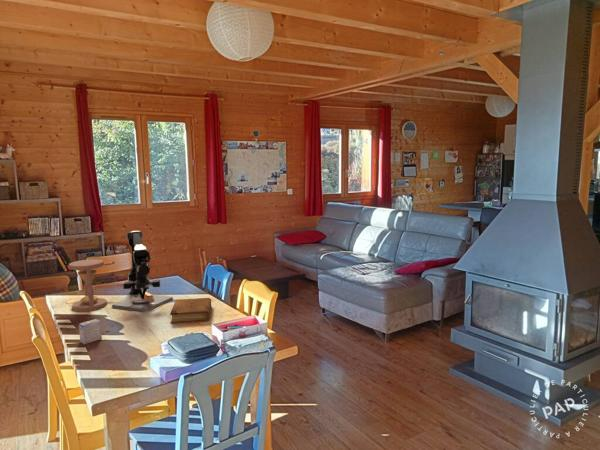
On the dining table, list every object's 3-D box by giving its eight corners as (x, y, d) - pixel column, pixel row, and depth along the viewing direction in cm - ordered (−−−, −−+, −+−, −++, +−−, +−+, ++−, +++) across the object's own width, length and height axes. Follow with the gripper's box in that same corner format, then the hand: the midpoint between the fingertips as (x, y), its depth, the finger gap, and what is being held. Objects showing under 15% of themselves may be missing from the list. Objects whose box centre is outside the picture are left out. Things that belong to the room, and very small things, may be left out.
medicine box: (97, 336, 201) (96, 318, 199) (102, 339, 198) (100, 320, 197) (79, 342, 195) (78, 323, 193) (84, 344, 192) (83, 325, 191)
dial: (128, 300, 249) (127, 291, 248) (148, 295, 257) (148, 287, 256) (140, 307, 236) (139, 297, 236) (161, 302, 244) (160, 293, 244)
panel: (112, 307, 242) (111, 303, 242) (141, 295, 263) (140, 292, 263) (145, 311, 234) (145, 308, 234) (172, 299, 255) (172, 295, 255)
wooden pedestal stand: (106, 308, 240) (102, 264, 236) (70, 313, 234) (66, 267, 230) (107, 299, 256) (104, 258, 253) (74, 303, 250) (70, 260, 246)
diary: (209, 322, 219) (208, 310, 218) (170, 324, 216) (170, 313, 215) (211, 307, 241) (211, 297, 240) (176, 309, 238) (175, 299, 237)
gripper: (121, 276, 228) (122, 305, 230) (158, 274, 233) (159, 302, 235) (124, 271, 239) (125, 299, 241) (160, 269, 243) (161, 296, 245)
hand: (143, 299), depth 240 cm, fingers closed
